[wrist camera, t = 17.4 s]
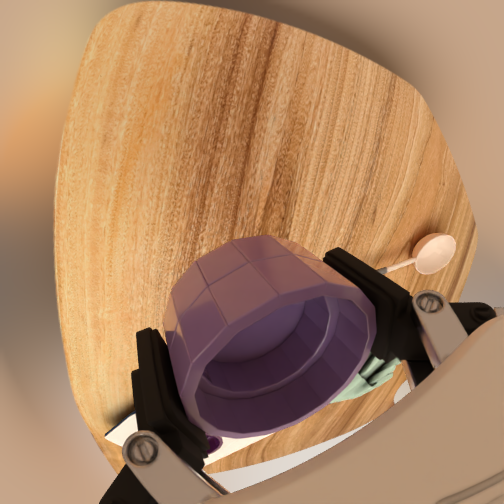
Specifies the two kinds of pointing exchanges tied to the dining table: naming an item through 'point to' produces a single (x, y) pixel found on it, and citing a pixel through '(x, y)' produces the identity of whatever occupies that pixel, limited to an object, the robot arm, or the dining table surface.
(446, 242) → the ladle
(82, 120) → the dining table surface
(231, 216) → the dining table surface
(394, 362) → the cloth
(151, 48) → the dining table surface
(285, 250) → the lavender bowl
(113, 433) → the plate
